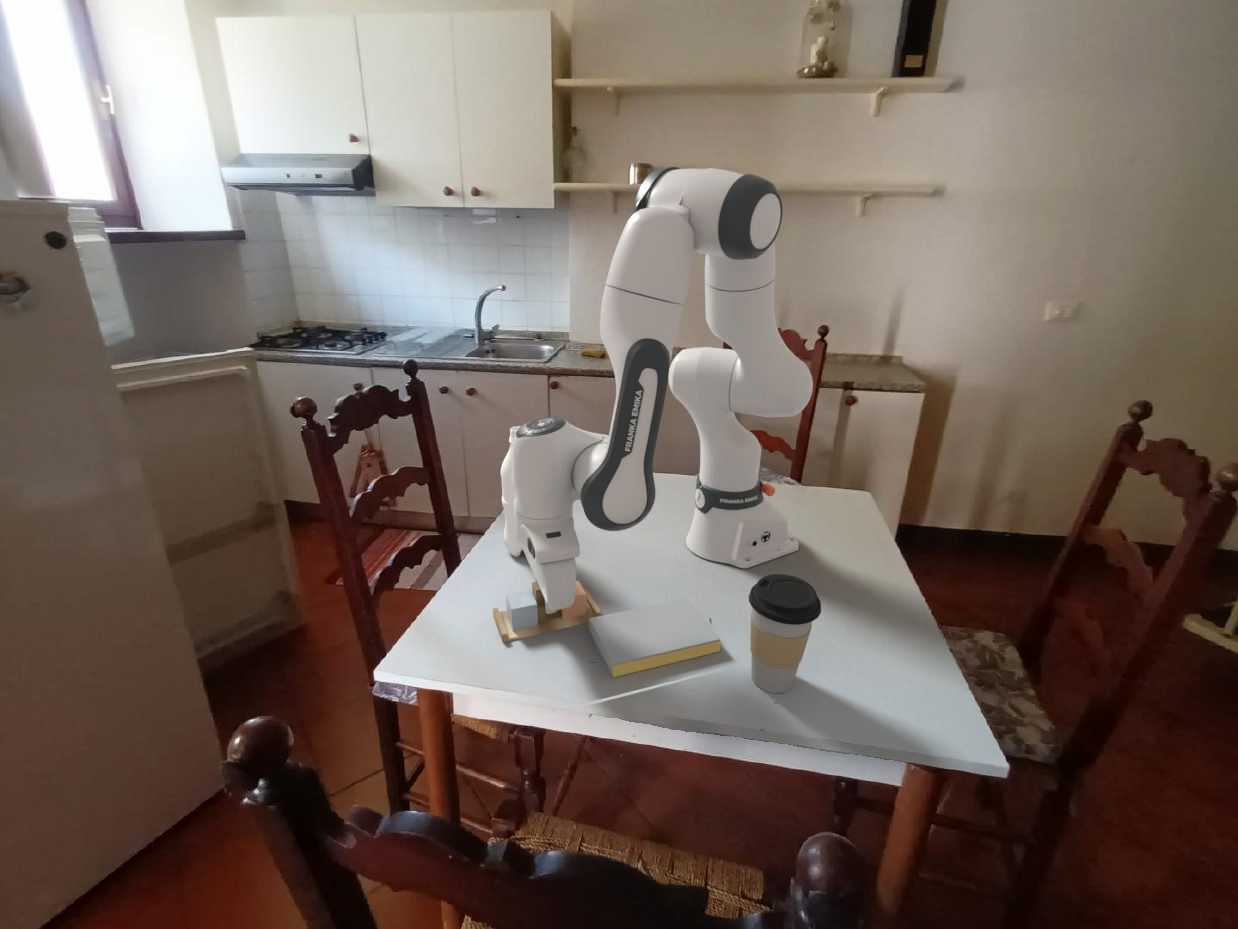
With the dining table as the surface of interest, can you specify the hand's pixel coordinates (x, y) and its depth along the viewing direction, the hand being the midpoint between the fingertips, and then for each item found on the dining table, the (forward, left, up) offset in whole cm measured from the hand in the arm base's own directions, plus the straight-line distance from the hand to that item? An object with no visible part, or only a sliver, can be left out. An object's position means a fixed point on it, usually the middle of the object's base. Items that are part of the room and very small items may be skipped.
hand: (545, 600), depth 96 cm
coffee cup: (-27, +24, -4) cm, 36 cm away
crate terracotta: (-4, 0, -3) cm, 5 cm away
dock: (-14, +11, -3) cm, 18 cm away
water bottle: (-1, -22, -4) cm, 22 cm away
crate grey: (+4, 0, -3) cm, 5 cm away
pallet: (0, 0, -4) cm, 4 cm away
